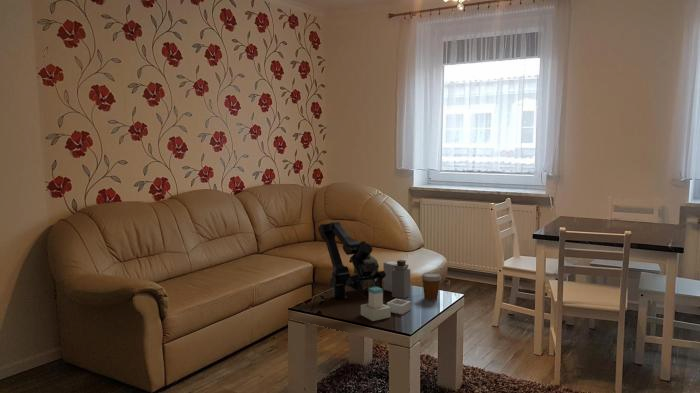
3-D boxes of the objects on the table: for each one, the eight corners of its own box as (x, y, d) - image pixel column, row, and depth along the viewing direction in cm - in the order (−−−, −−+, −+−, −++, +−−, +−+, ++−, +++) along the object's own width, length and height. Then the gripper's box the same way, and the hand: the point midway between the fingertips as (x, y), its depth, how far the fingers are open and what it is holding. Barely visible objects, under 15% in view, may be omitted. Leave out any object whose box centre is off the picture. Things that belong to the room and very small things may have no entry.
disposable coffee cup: (439, 302, 246) (439, 277, 244) (419, 300, 249) (419, 276, 247) (441, 296, 254) (442, 273, 253) (423, 294, 258) (423, 271, 256)
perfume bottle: (409, 295, 257) (410, 260, 255) (403, 298, 251) (404, 262, 249) (398, 293, 260) (398, 258, 258) (391, 296, 255) (392, 261, 253)
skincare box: (401, 291, 263) (402, 263, 262) (392, 293, 260) (393, 264, 258) (391, 287, 270) (392, 260, 268) (382, 289, 267) (383, 261, 265)
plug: (368, 315, 227) (368, 288, 225) (376, 313, 229) (377, 286, 228) (374, 318, 223) (374, 290, 221) (382, 316, 225) (383, 289, 224)
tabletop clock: (378, 294, 257) (378, 246, 254) (360, 296, 255) (361, 247, 252) (369, 287, 271) (369, 240, 268) (353, 288, 269) (353, 241, 266)
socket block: (360, 314, 227) (360, 305, 227) (378, 311, 232) (378, 301, 232) (372, 321, 219) (372, 311, 219) (390, 317, 224) (390, 307, 224)
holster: (386, 311, 232) (387, 302, 232) (395, 306, 239) (395, 298, 238) (402, 314, 228) (402, 305, 227) (410, 309, 234) (410, 301, 234)
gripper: (349, 258, 224) (363, 289, 216) (384, 253, 234) (398, 282, 226) (340, 271, 232) (353, 301, 224) (374, 266, 241) (387, 295, 233)
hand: (373, 295), depth 226 cm, fingers open, 9 cm apart
